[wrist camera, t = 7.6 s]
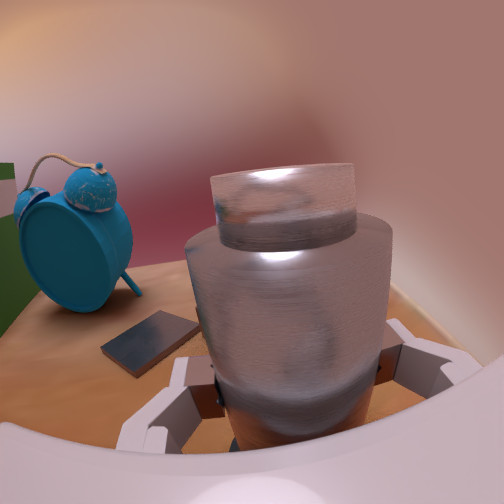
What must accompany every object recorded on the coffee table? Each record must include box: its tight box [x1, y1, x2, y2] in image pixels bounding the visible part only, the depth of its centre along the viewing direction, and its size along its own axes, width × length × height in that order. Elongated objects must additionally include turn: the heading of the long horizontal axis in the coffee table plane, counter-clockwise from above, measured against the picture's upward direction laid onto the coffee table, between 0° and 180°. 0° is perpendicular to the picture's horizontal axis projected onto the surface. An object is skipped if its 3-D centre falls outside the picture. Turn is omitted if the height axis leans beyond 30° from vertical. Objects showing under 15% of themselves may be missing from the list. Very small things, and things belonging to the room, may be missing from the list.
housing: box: [185, 163, 393, 452], centre depth 9 cm, size 7×7×14 cm
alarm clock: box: [14, 153, 142, 312], centre depth 28 cm, size 17×10×20 cm, turn 87°
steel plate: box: [100, 310, 201, 378], centre depth 23 cm, size 8×6×1 cm
